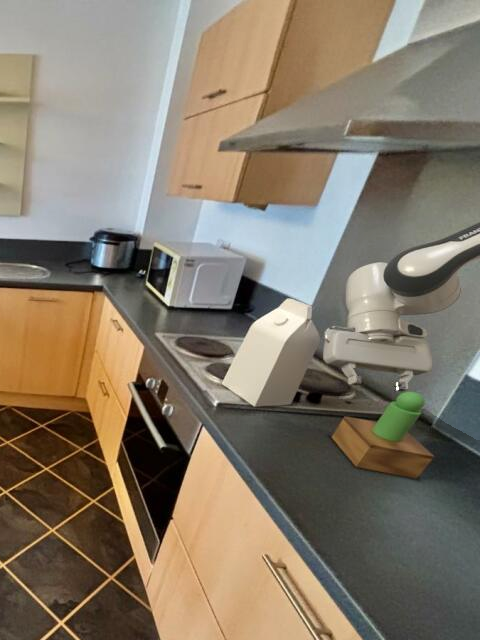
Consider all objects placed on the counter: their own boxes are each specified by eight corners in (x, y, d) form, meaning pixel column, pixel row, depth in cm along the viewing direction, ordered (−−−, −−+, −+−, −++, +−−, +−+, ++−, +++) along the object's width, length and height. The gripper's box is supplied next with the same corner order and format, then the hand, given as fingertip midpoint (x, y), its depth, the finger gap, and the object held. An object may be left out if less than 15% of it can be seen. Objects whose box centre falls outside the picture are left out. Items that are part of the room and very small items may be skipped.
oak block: (385, 447, 95) (400, 426, 92) (416, 478, 86) (434, 456, 83) (331, 437, 97) (344, 416, 94) (355, 466, 88) (371, 444, 85)
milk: (290, 404, 109) (341, 311, 96) (254, 406, 107) (301, 311, 94) (255, 381, 120) (297, 294, 107) (221, 383, 117) (260, 294, 104)
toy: (392, 430, 90) (422, 389, 85) (406, 443, 86) (438, 401, 81) (367, 426, 91) (395, 385, 86) (379, 439, 87) (409, 396, 82)
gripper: (335, 319, 94) (338, 376, 91) (435, 330, 92) (442, 390, 88) (314, 330, 100) (317, 384, 97) (408, 341, 98) (414, 397, 94)
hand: (377, 387), depth 92 cm, fingers open, 8 cm apart
